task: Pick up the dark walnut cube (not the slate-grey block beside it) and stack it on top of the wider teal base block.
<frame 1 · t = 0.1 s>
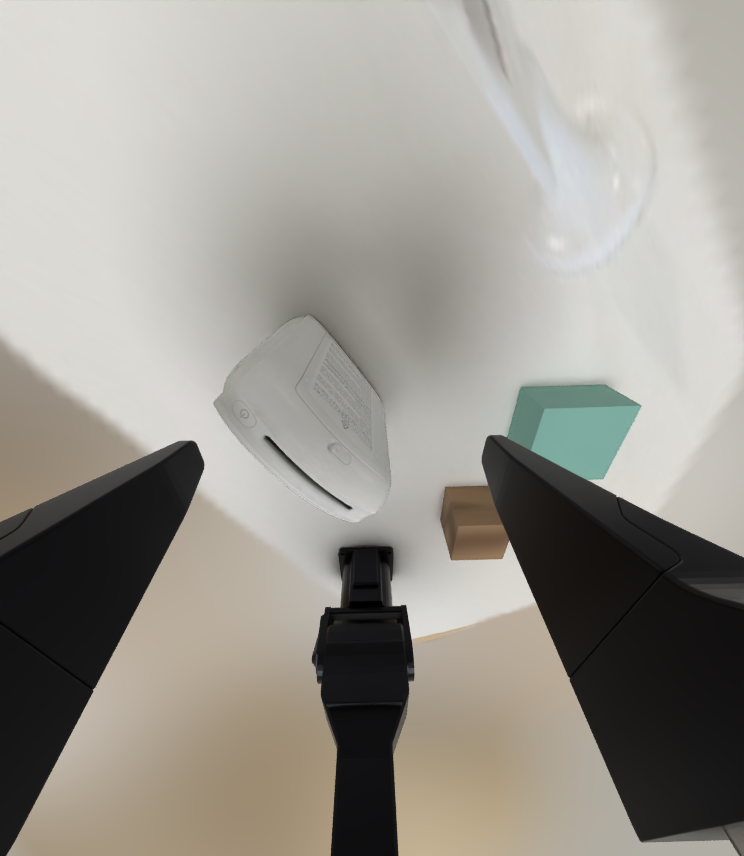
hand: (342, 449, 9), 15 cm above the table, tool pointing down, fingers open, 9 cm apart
photo printer: (332, 373, 23), on the table
walnut cube: (465, 503, 31), on the table
teal base block: (548, 420, 26), on the table
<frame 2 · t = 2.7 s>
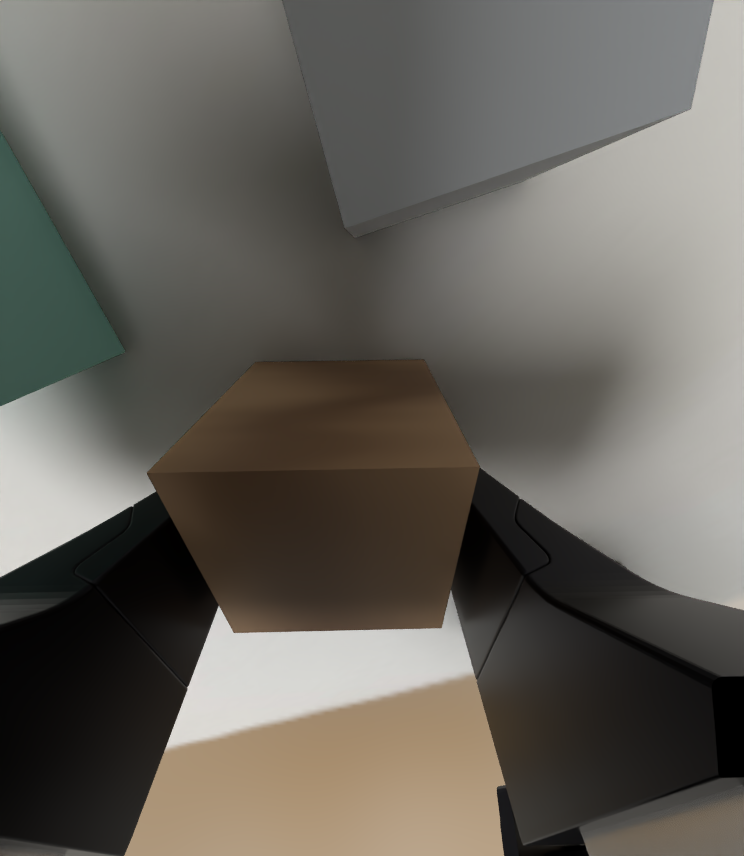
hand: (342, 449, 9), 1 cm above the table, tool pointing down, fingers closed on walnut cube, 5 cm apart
slate block: (420, 91, 6), on the table
walnut cube: (344, 431, 10), on the table, touching gripper
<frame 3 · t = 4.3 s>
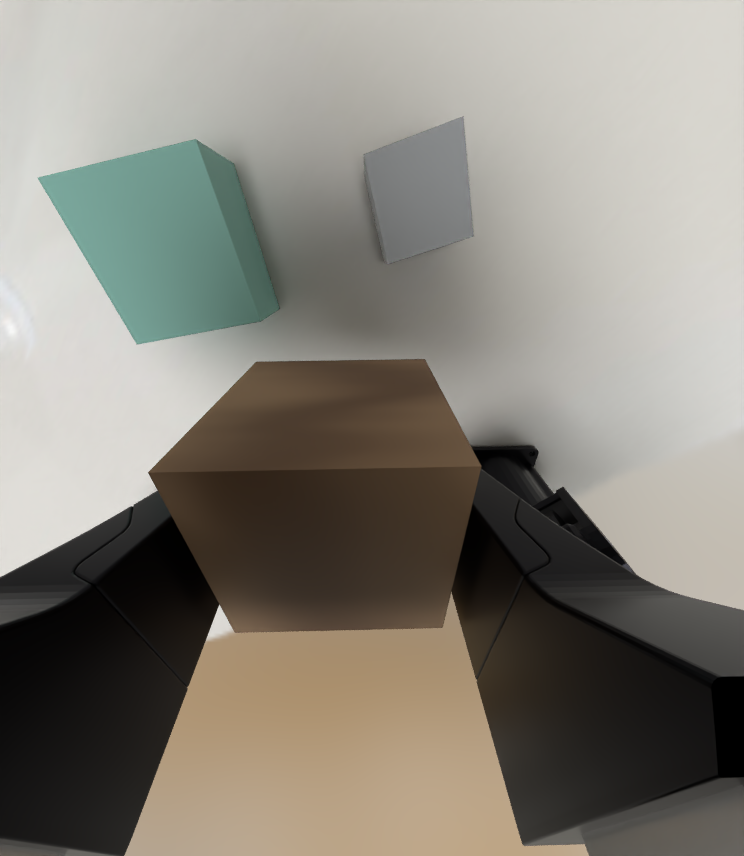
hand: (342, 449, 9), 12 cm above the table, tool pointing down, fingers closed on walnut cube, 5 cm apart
slate block: (410, 209, 16), on the table
walnut cube: (345, 431, 10), point 11 cm above the table, touching gripper
teal base block: (203, 256, 17), on the table
when the fingers open (6 cm above the table, at t = 6.2 s): walnut cube drops 1 cm, resting on teal base block.
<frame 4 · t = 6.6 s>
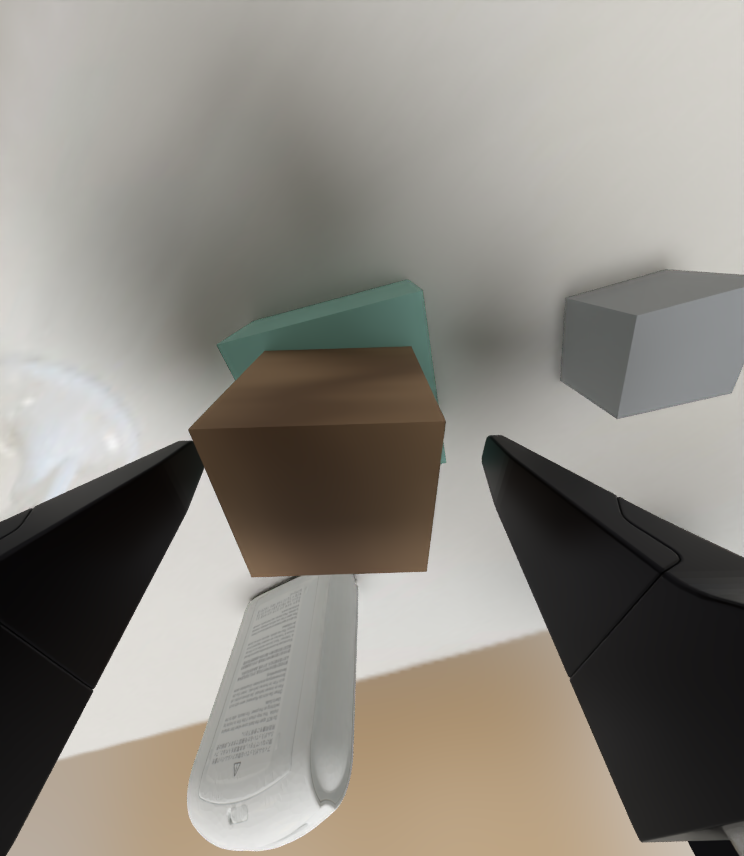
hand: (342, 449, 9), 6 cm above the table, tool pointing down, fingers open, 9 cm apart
slate block: (606, 329, 13), on the table
photo printer: (302, 587, 24), on the table
walnut cube: (343, 412, 11), point 4 cm above the table, touching teal base block
teal base block: (350, 373, 15), on the table, touching walnut cube
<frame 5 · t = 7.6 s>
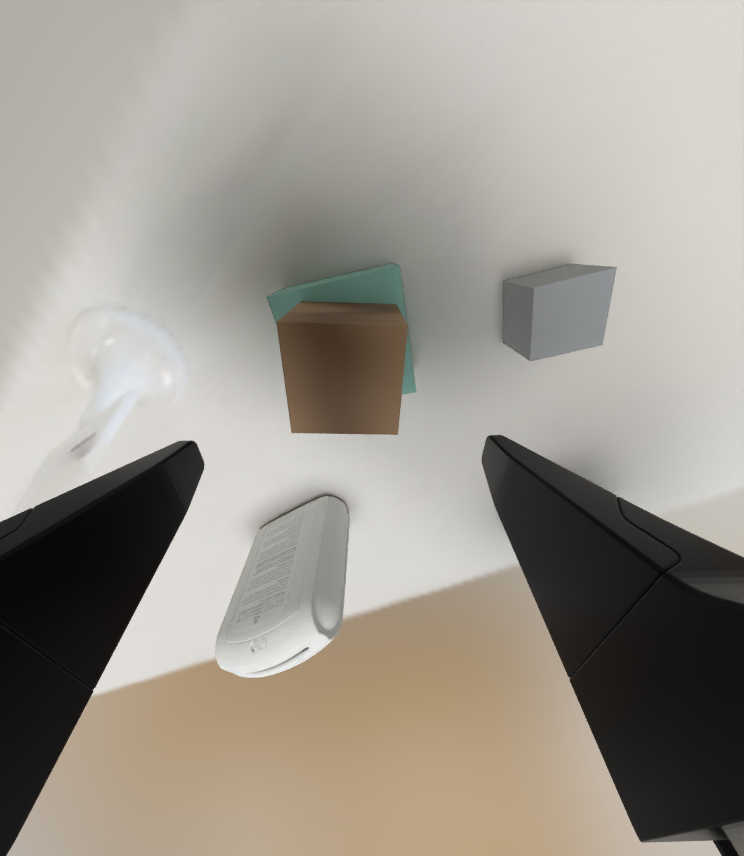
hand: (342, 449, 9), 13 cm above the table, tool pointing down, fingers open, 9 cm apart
slate block: (533, 305, 19), on the table
photo printer: (303, 519, 30), on the table
walnut cube: (349, 349, 17), point 4 cm above the table, touching teal base block
teal base block: (351, 331, 20), on the table, touching walnut cube
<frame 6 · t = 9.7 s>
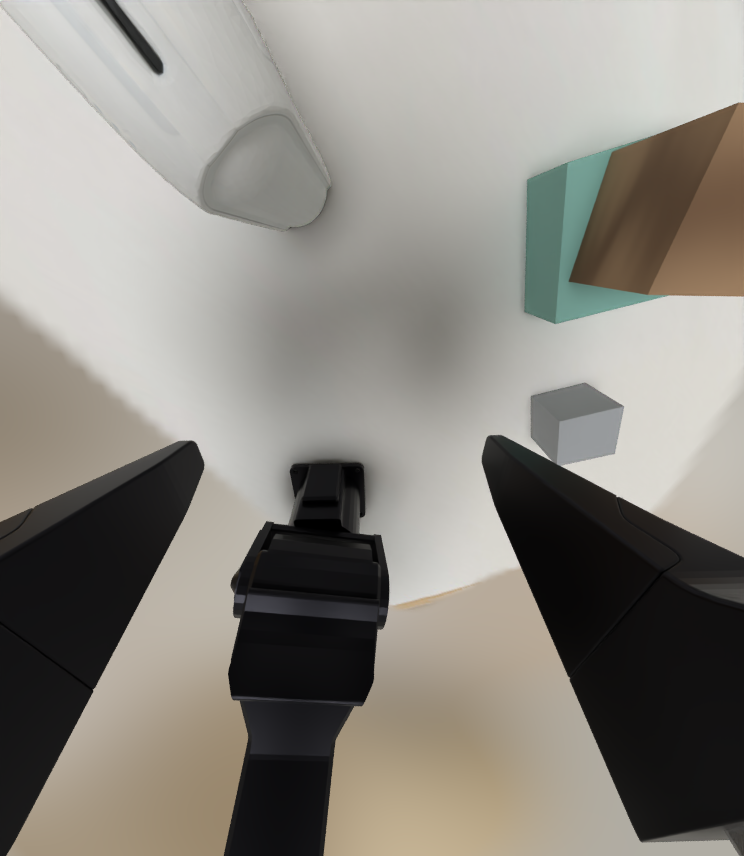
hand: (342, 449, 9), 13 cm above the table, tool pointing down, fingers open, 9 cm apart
slate block: (556, 410, 23), on the table
photo printer: (247, 118, 15), on the table
walnut cube: (639, 224, 14), point 4 cm above the table, touching teal base block
teal base block: (583, 235, 17), on the table, touching walnut cube
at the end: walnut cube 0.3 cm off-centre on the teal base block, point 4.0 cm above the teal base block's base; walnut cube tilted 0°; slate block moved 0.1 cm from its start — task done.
